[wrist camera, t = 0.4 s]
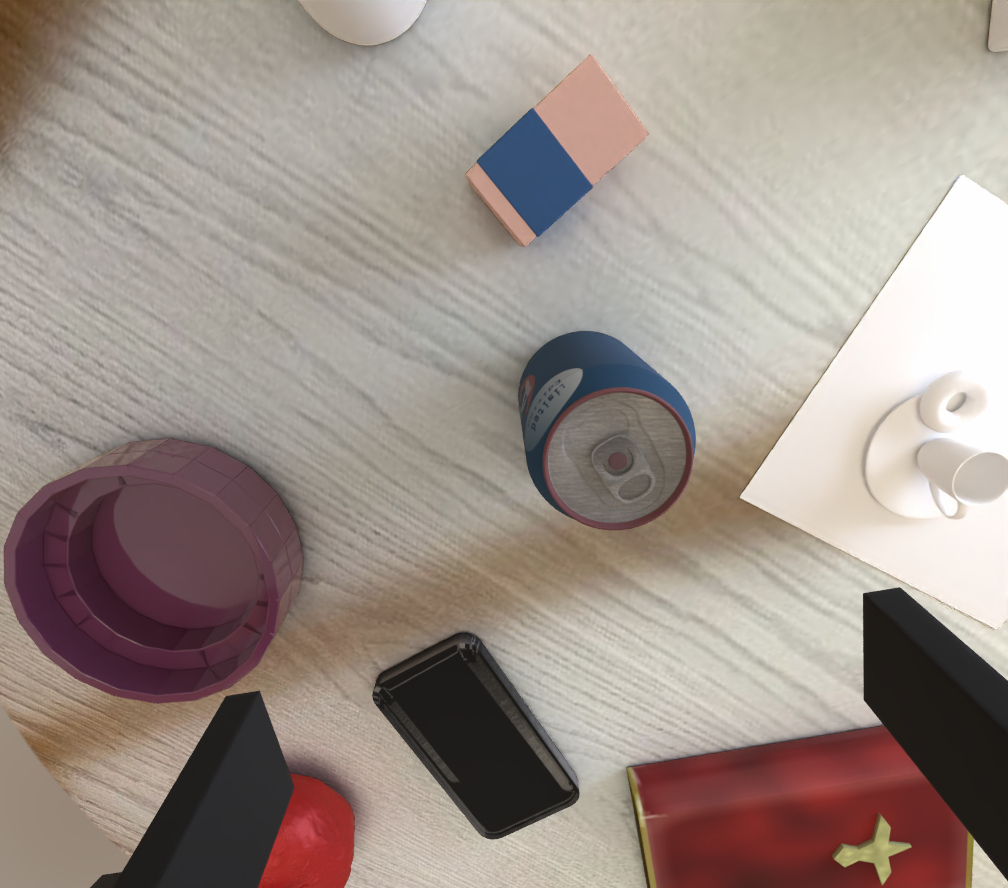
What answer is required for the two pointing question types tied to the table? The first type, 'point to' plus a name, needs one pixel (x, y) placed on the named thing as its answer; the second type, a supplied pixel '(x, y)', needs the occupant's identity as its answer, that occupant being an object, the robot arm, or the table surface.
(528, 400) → the soda can
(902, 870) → the hardcover book
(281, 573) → the bowl
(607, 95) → the eraser
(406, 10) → the can
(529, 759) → the phone
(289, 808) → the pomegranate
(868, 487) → the teacup and saucer
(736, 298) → the table surface
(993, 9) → the medicine bottle
